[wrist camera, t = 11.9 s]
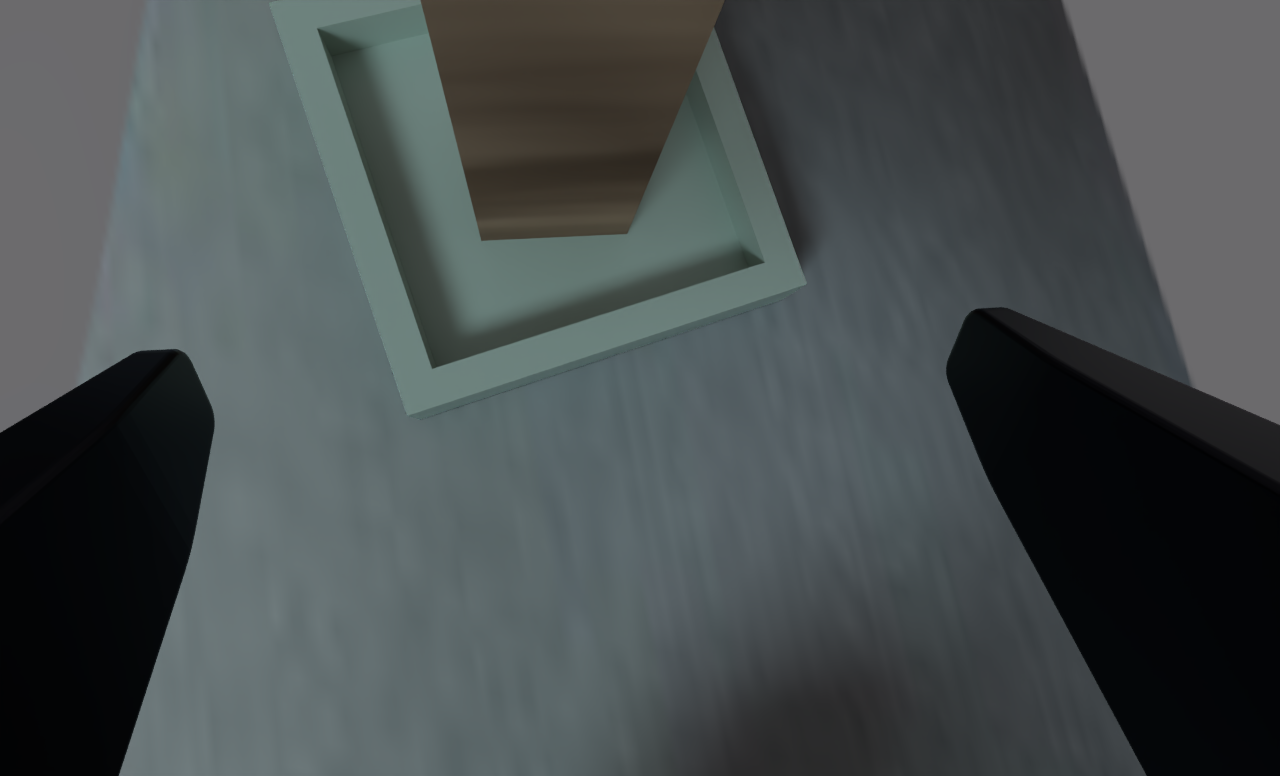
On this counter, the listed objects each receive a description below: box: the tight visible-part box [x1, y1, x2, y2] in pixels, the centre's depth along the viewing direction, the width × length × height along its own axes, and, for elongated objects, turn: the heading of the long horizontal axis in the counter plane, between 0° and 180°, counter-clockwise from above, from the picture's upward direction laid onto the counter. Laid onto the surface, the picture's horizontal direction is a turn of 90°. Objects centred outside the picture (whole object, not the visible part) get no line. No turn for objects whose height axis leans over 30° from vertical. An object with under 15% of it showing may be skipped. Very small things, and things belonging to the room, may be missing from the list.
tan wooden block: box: [420, 0, 725, 241], centre depth 16 cm, size 4×4×12 cm
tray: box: [269, 0, 807, 420], centre depth 21 cm, size 12×12×2 cm
